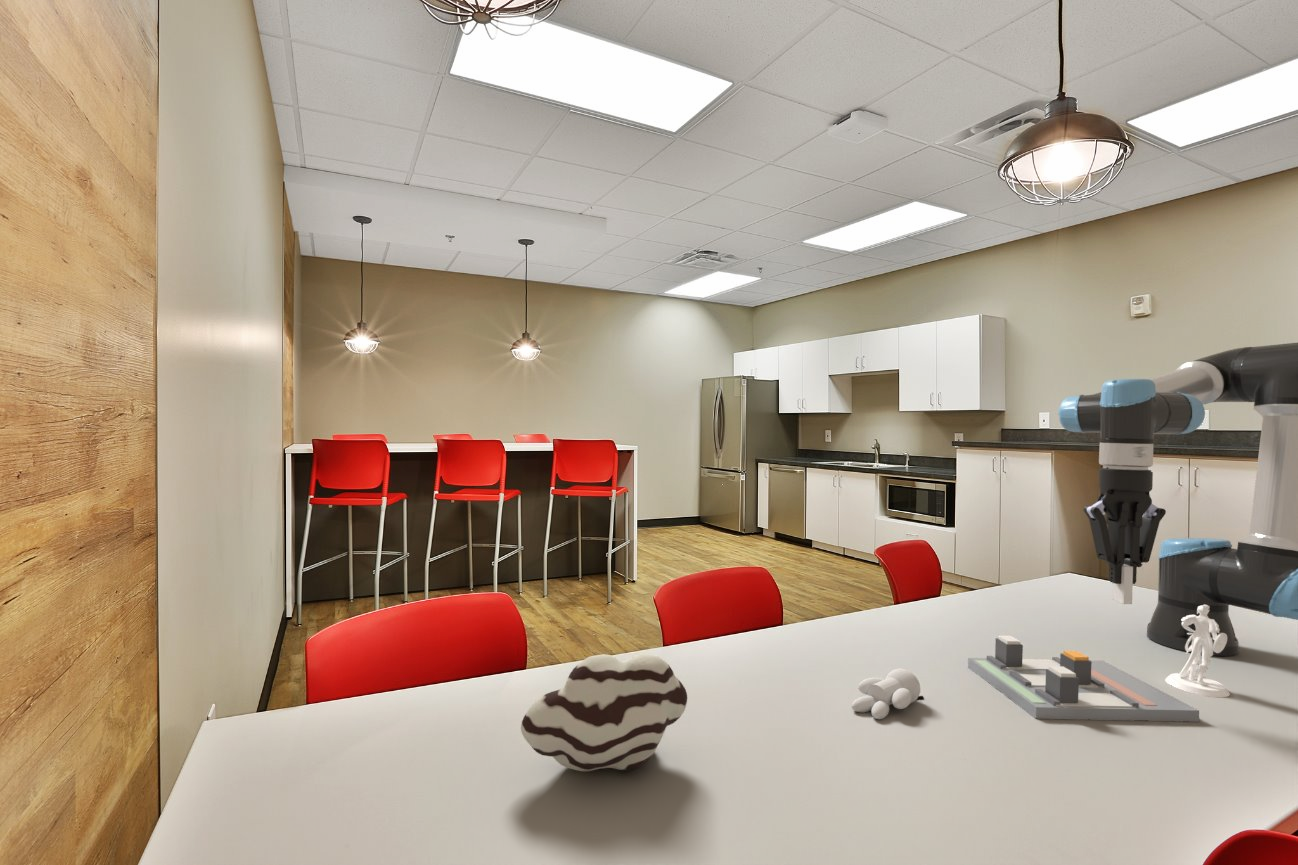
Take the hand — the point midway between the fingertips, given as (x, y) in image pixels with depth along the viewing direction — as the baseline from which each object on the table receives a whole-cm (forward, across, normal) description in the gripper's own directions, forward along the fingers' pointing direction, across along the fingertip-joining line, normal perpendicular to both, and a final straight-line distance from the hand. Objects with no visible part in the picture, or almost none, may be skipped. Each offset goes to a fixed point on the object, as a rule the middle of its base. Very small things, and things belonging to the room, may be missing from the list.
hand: (1121, 601), depth 110 cm
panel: (+16, -8, 0) cm, 18 cm away
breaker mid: (+14, -8, 0) cm, 16 cm away
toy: (+16, -43, -7) cm, 47 cm away
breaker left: (+14, -15, +7) cm, 22 cm away
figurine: (+16, +17, +3) cm, 24 cm away
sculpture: (+16, -88, -28) cm, 94 cm away
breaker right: (+14, -15, -8) cm, 22 cm away
